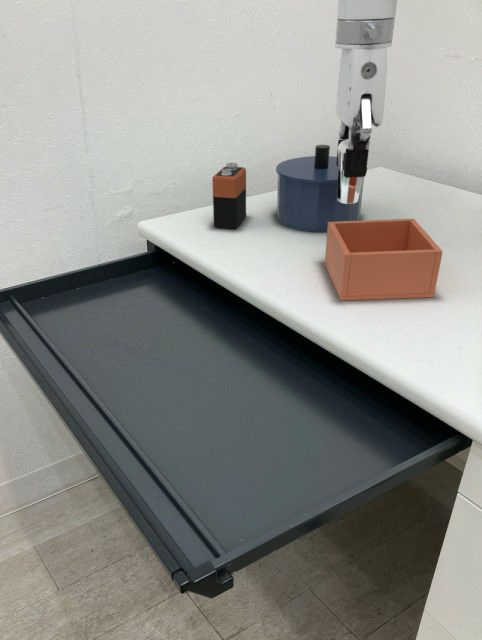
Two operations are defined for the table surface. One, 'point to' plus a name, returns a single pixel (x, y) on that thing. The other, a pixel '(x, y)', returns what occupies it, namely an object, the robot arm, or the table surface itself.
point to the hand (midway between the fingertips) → (350, 170)
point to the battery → (229, 196)
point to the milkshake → (346, 179)
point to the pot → (313, 205)
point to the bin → (381, 259)
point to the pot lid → (311, 167)
